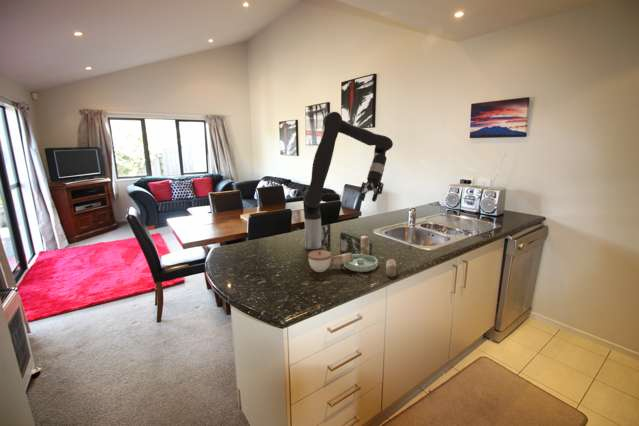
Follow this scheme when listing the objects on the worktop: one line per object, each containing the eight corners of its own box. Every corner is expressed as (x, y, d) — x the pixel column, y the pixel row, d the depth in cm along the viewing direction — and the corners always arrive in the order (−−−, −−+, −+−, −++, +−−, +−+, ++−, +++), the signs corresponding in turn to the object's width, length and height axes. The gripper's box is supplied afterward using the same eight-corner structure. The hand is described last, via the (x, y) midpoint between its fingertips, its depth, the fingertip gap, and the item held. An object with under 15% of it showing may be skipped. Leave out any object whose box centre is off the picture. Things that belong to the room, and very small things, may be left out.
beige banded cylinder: (351, 259, 146) (331, 264, 145) (350, 250, 145) (329, 255, 144) (353, 262, 141) (332, 267, 141) (351, 254, 140) (331, 259, 140)
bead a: (361, 257, 157) (361, 238, 155) (359, 254, 161) (360, 236, 159) (370, 256, 157) (370, 238, 155) (367, 253, 162) (368, 235, 159)
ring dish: (347, 272, 139) (347, 266, 138) (341, 259, 154) (341, 254, 154) (381, 270, 140) (381, 264, 139) (372, 257, 156) (372, 252, 155)
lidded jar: (323, 276, 136) (323, 256, 133) (304, 271, 141) (303, 252, 139) (335, 267, 144) (335, 249, 142) (316, 263, 150) (316, 245, 148)
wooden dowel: (395, 277, 133) (395, 268, 143) (396, 268, 132) (396, 259, 142) (385, 276, 134) (385, 267, 144) (386, 266, 133) (386, 258, 143)
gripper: (362, 170, 168) (353, 198, 166) (381, 169, 157) (372, 198, 154) (370, 175, 172) (362, 202, 170) (390, 175, 161) (382, 203, 159)
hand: (367, 200), depth 162 cm, fingers open, 8 cm apart
